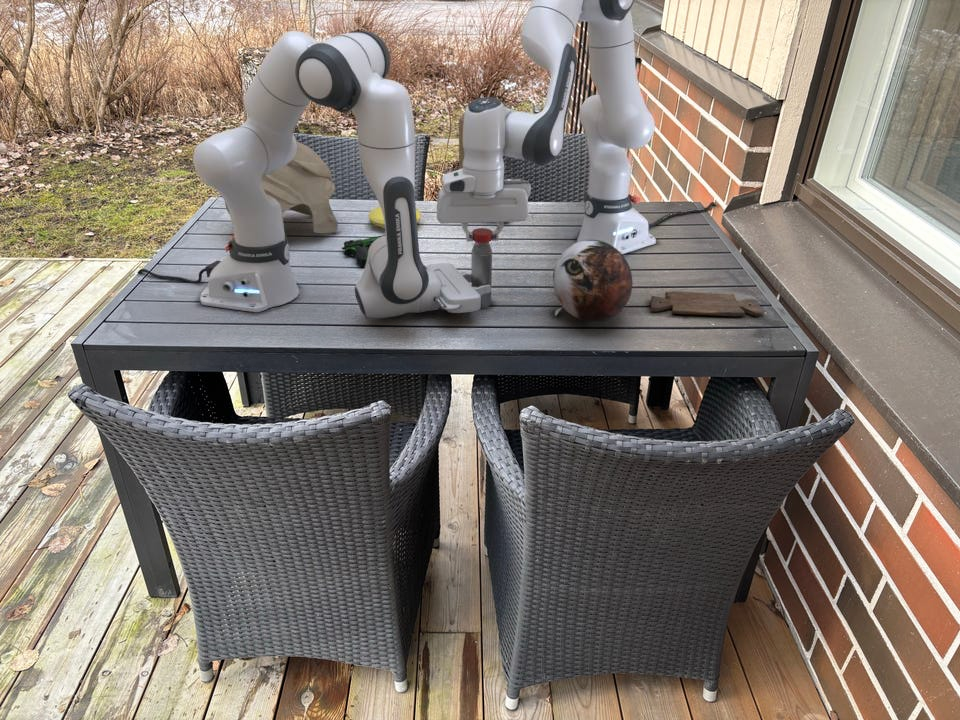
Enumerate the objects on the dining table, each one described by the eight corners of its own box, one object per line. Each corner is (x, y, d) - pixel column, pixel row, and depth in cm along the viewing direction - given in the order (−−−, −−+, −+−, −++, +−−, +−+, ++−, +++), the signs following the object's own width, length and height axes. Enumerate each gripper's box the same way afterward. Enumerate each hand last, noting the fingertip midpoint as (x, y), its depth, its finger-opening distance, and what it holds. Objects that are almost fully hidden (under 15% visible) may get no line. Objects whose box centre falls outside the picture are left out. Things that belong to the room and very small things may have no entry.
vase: (376, 214, 219) (375, 191, 216) (426, 217, 218) (426, 194, 214) (362, 232, 206) (360, 208, 202) (415, 235, 204) (415, 212, 201)
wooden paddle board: (645, 296, 172) (651, 316, 164) (646, 290, 171) (652, 309, 163) (754, 299, 171) (766, 319, 163) (755, 293, 170) (767, 312, 162)
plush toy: (529, 271, 171) (588, 211, 162) (582, 317, 175) (643, 261, 167) (526, 311, 151) (593, 245, 143) (586, 361, 156) (655, 300, 148)
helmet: (351, 239, 203) (345, 131, 188) (249, 258, 188) (233, 142, 173) (313, 212, 222) (305, 112, 207) (217, 227, 207) (201, 120, 192)
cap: (468, 239, 159) (468, 232, 158) (480, 234, 162) (480, 226, 161) (484, 244, 157) (484, 236, 156) (495, 238, 160) (496, 231, 159)
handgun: (354, 259, 182) (336, 238, 193) (354, 270, 184) (336, 248, 195) (413, 250, 189) (392, 230, 200) (413, 260, 190) (392, 240, 201)
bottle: (492, 300, 169) (494, 231, 161) (488, 309, 165) (490, 238, 157) (473, 298, 170) (474, 229, 161) (468, 306, 166) (469, 236, 157)
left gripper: (442, 297, 151) (502, 287, 155) (414, 261, 167) (469, 254, 172) (442, 323, 154) (501, 313, 159) (415, 286, 171) (469, 278, 175)
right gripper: (528, 173, 157) (525, 233, 164) (435, 175, 154) (436, 236, 161) (533, 182, 151) (530, 244, 158) (437, 184, 149) (438, 246, 156)
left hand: (484, 282), depth 165 cm, fingers closed on bottle, 4 cm apart
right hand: (482, 240), depth 160 cm, fingers closed on cap, 4 cm apart
